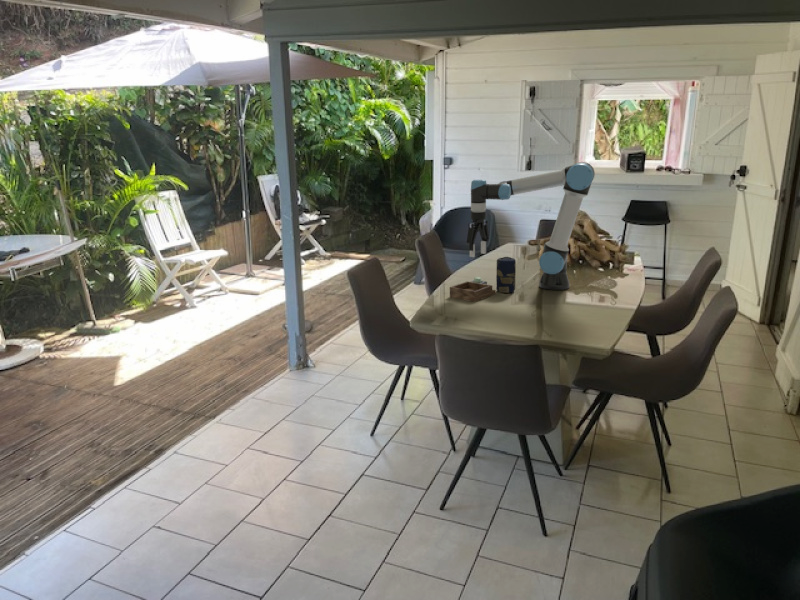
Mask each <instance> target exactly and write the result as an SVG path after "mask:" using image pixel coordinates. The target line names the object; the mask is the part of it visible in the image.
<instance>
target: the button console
mask: <svg viewBox="0 0 800 600" xmlns="http://www.w3.org/2000/svg"><path fill="white" fill-rule="evenodd" d="M469 282H474V279H473V280H471V281H469ZM480 284H486V285H488V281H485V280H481V283H480Z"/></svg>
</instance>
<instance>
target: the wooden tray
mask: <svg viewBox="0 0 800 600" xmlns="http://www.w3.org/2000/svg"><path fill="white" fill-rule="evenodd" d="M496 291H497V290H496V289H493V285H491V284H487V285H486V284H480V283H475V282H470V281H467V280H466V281H465V282H462V283H457V284H455V285H452V286H450V287H449V298H453V299H459V300H464V301H469V302H474V303H476V302H478V301H481V300H483V299H486V298H489V297H492V296H494V295H496Z"/></svg>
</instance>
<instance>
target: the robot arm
mask: <svg viewBox="0 0 800 600" xmlns="http://www.w3.org/2000/svg"><path fill="white" fill-rule="evenodd" d="M595 176H596V175H595V169H594V167H593V166H592V165H591V164H590V163H588V162H585V161H580V162H578V163H575V164H572V165H569V166H564V167H562V169H560V170H555V171H550V172H546V173H541V174H536V175H530V176H526V177H520V178H516V179H512V180H505V181H500V182H499V183H488V182H487V180H486V179H474V180H472V181H471V184H470V211H471V212H470V219H471V220H472V221H471V223H468V224H467V225H468V231H467V237H466V244H468V245H469V257H470V258H475V257H476V244H475V241H476V238H477V234H478V232H479V234H480V235H479V236H480V237H481V241H480V255H481V254H483V255H486V254H487V242H489V239H490V236H489V235H490V234H489V226H488V220H485V219H486V218H487V212H486V211H487V200H498V201H500V200H501V201H503V200H504V201H507V200H510V198H511V196H515V195H520V194H526V193H531V192H536V191H542V190H547V189H552V188H558V187H563V188H562V189H563V192H564V195H563V198H562V201H561V205H560V207H559V210H558V214H557V216H556V221H555V223H554V226H553V230H552V233H551V235H550V239H549V241H546V242H545V243H544V246H543V250H542V253H541V255H540V257H539V260H538V264H539V267H540V270H541V271H543V272H542V274H541V277H540V279H539V287H540V288H541V289H544V290H551V291H563V290H568V289H570V280H569V277H568V273H567V270H568V254H569V251H570V249H569V247H568V246H569V245H568V244H569V241H570V238H571V236H572V232H573V229H574V226H575V223H576V220H577V217H578V214H579V211H580V208H581V206H582V202H583V199H584V198H586V197H587V196H588V195H589V193H590V192H589V191H590V188H591V186H592V184H593V183H592V182H593V180H594V179H595Z"/></svg>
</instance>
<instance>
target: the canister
mask: <svg viewBox="0 0 800 600" xmlns="http://www.w3.org/2000/svg"><path fill="white" fill-rule="evenodd" d="M516 268H517V261H516V258H513V257H510V256H503V257H499V258H497V259H496V278H495V279H496V282H495V283H496V289H495V290H496V291H497V292H499V293H504V294H507V293H508V294H510V293H512V292H513V293H514V292H515V290H516V270H517V269H516Z"/></svg>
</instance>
